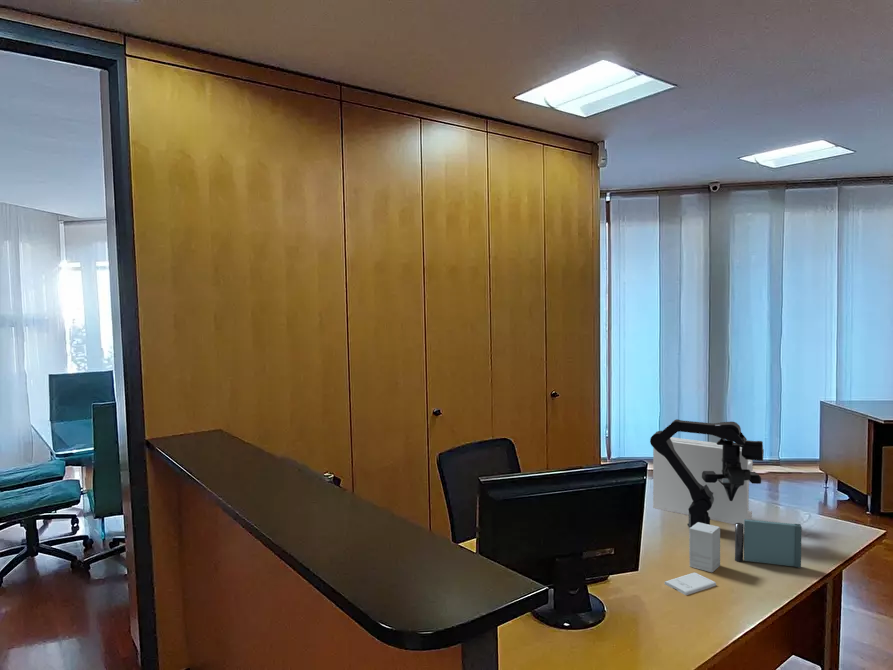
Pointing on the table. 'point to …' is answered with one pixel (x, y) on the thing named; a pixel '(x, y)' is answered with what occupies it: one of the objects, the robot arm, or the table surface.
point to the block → (699, 481)
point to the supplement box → (704, 546)
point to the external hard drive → (690, 583)
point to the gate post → (739, 542)
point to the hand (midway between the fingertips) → (730, 500)
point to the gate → (772, 542)
